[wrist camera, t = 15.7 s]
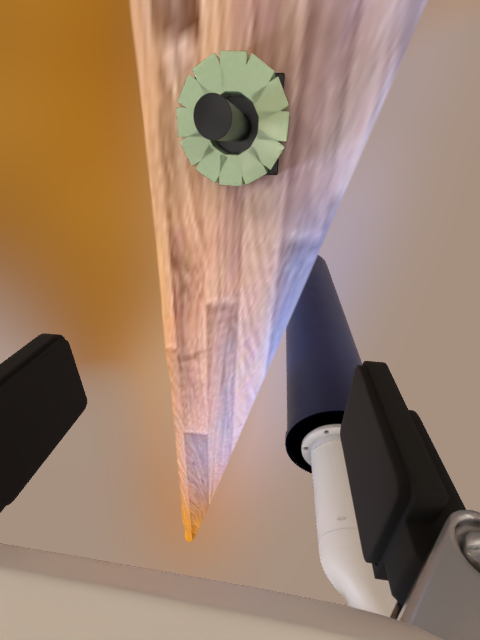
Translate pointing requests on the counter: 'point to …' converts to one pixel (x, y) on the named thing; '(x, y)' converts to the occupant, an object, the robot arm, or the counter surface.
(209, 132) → the post
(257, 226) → the counter surface
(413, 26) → the counter surface
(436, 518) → the robot arm
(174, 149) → the counter surface
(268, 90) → the ring
